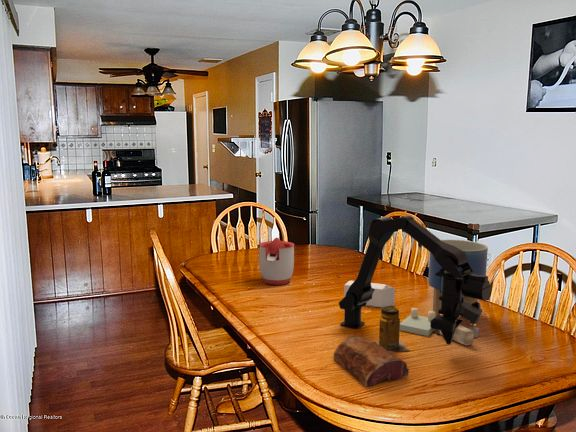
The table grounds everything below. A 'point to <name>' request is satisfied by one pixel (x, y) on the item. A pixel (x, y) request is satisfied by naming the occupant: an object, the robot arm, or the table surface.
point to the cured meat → (369, 361)
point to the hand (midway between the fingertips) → (448, 344)
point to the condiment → (390, 330)
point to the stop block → (476, 330)
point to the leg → (461, 335)
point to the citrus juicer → (276, 261)
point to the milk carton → (378, 295)
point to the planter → (475, 258)
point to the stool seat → (418, 323)
